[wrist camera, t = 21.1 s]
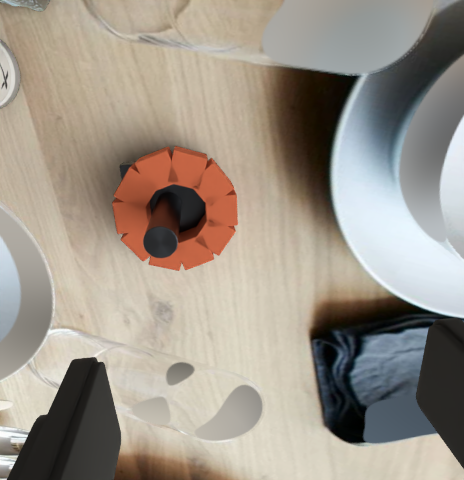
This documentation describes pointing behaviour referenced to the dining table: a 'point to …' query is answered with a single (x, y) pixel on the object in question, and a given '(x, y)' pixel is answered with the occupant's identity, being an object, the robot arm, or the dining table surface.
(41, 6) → the chocolate cake
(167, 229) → the black peg stand
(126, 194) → the ring
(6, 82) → the travel mug
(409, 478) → the dining table surface
